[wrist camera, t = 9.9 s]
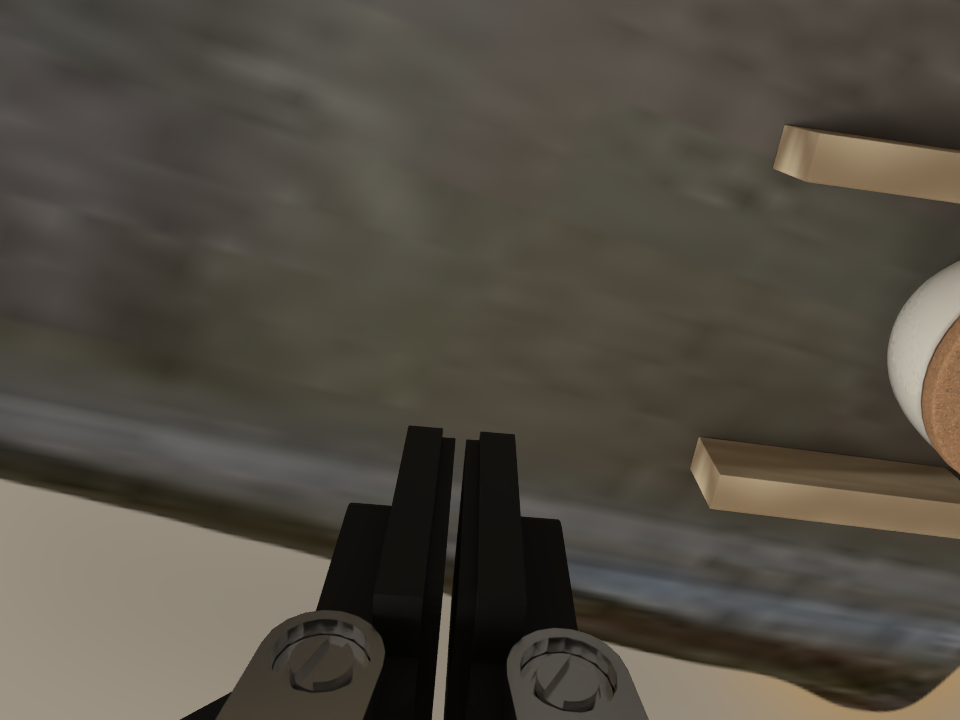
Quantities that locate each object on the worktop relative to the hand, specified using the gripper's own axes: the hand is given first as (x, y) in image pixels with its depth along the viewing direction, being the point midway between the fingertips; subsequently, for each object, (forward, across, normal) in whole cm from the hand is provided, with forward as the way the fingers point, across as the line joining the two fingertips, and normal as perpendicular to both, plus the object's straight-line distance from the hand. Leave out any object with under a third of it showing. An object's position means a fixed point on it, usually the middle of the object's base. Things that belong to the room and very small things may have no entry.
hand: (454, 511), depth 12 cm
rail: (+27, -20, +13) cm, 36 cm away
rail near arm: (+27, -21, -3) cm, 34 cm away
